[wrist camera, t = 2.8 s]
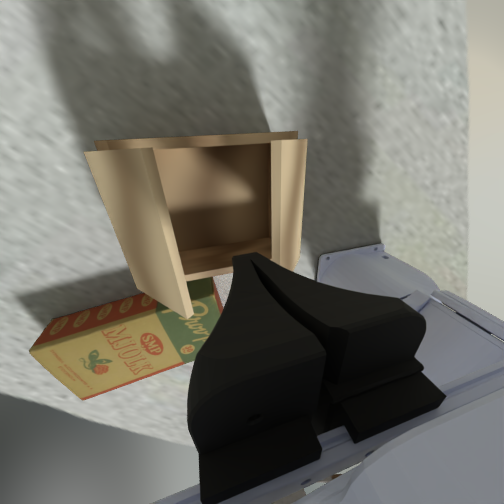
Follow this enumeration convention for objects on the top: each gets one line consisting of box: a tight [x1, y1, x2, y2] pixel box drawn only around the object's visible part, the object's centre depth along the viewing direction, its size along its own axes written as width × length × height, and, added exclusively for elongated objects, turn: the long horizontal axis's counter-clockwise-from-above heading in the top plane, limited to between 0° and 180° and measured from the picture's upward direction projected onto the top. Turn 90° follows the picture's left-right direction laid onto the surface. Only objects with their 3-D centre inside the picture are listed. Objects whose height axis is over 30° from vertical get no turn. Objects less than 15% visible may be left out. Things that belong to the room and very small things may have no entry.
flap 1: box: [84, 147, 194, 319], centre depth 12 cm, size 6×9×1 cm
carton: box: [29, 277, 223, 400], centre depth 22 cm, size 8×16×4 cm, turn 99°
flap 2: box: [271, 139, 307, 272], centre depth 13 cm, size 6×9×1 cm
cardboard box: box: [94, 131, 298, 281], centre depth 17 cm, size 12×10×5 cm
